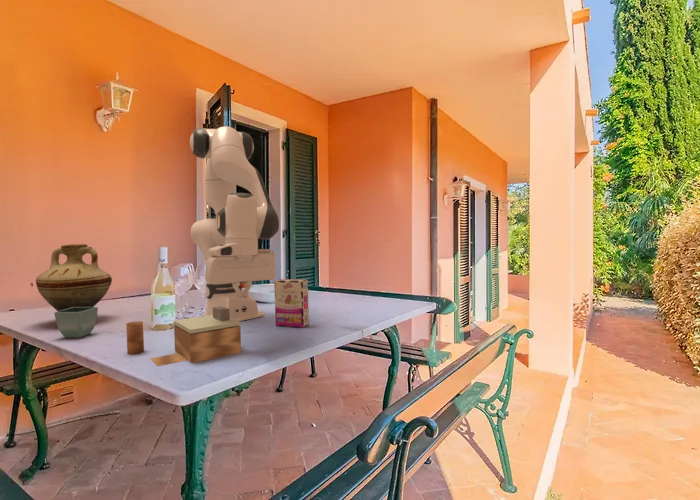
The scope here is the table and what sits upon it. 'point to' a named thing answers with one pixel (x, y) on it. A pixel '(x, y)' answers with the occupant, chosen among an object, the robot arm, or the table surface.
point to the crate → (202, 345)
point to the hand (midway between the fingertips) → (242, 297)
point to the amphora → (73, 279)
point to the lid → (208, 321)
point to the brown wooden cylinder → (135, 337)
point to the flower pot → (76, 321)
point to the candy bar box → (291, 303)
